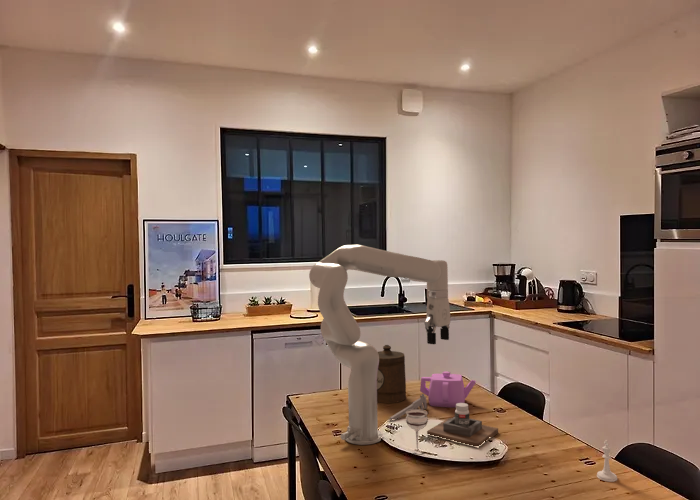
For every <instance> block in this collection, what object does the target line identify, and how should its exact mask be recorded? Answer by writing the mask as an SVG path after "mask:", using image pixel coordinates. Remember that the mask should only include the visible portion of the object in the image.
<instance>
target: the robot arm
mask: <svg viewBox="0 0 700 500" xmlns="http://www.w3.org/2000/svg"><path fill="white" fill-rule="evenodd" d="M348 270H349V271H358V272H363V273H368V274H373V275H378V276H381V277H382V276H384V277H389V278H404V279H405V278H406V279H408V280H409V281H412V282H421V283H426V299H427V301H426V319H425V321H424V322H423V323H424V326H425V327H424V328H425V330H426V331H425V332H426V344H428V345H437V333H436V329H437V328H440V329H439V330H440V331H439V332H440V333H439V335H440V339H441V340H444V341H449V340H450V324H451V309H450V308H451V307H450V301H449V279H448V277H449V274H448V272H449V271H448V262H447V261H446V260H440V259H438V260H437V259H435V260H431V259H428V258H427V259H426V258H422V257H418V256H412V255H406V254H403V253H399V252H394V251H390V250H389V251H388V250H384V249H381V248H380V249H379V248H375V247H371V246H366V245H362V244H345V245H342V246H340V247H338V248H337V249H335V250H334V251H332V252H331V253H330V254H328V255H326V256H325V257H323V258H322V259H320V260H319V261H318V262H316V263H315V264H314V265H313V266H312V267H311V269H310V271H309V281H310V284H311V285H313V286H314V287H315V288H317V289H319V290H318V296H317V306H318V310H319V313H320V314H321V316H322V317H323V319H322V321H321V324H320V332H321V336H322V338H323V340H324V342H325V343H326V345H327V346H328V348H329V350H330V352H331V353H332V354H333V356H334V357H335V359H336V360H337V361H338V363H340V364H341V365H343V366H344V367H347V368H350V372H349V377H348V381H347V394H348V395H347V397H348V399H347V401H348V402H347V403H348V426H347V427H346V428H347V429H346V431H345V432H343V433H341V434H340V439H341V440H342V441H346V442H348V443H350V444H353V445H359V446H367V445H373V444H376V443H379V442H380V441H382V440H381V437H382V436H383V433H382V431H381V430H378V429H379V428H378V425H379V423H378V422H379V421H378V402H377V371H378V365H379V355H378V352H379V351H378V350H377V349H376V348H375V347H374V345H372V344H370V343H368V342H365V341H361V340H360V338H361V328H360V325H359V324H358V322H357V320H356V318H355V317H354V316H353V314H352V312H351V311H350V309H349V307H348V305H347V304H346V301H345V297H344V293H345V289H346V287H347V283H348V279H349V277H348V272H347V271H348ZM382 438H383V437H382Z"/></svg>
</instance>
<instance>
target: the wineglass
mask: <svg viewBox="0 0 700 500" xmlns="http://www.w3.org/2000/svg"><path fill="white" fill-rule="evenodd" d="M427 415H428V411H426V409H424V410H421V409H420V408H417V409H411V410H408V411H406V414H405V423H406V425H407V426H408V427H409V428H410V429H412V430H414V431H415V439H416V440H415V441H416V443H415V444H416V448H417V450H419V449H418V448H419V432H420V431H421V430H423V429H424V428H425V427H426V426H427V424H428V422H429V419H428V416H427Z"/></svg>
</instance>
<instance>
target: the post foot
mask: <svg viewBox="0 0 700 500" xmlns="http://www.w3.org/2000/svg"><path fill="white" fill-rule="evenodd" d="M498 433H499V428H498V427H494V426H490V425H485V424H483V421H482V420H480V419H474V418H471V417H469V427H463V426H459V425H455V416H453V417H448V418H447V419H445V420H443V421H441V422H440V423H438V424H437V425H435V426H433V427H432V428H429V429H427V431H426V435H427V434H430V435H434V436H439V437H442V438H446V439H450V440H454V441H457V442H461V443H465V444H469V445H473V446H479V445H481V444H482V443H483V442H484V441H485V440H487V439H488V438H489V437H492V438H493V437H495V436H496V435H497V434H498Z"/></svg>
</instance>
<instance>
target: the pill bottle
mask: <svg viewBox="0 0 700 500" xmlns="http://www.w3.org/2000/svg"><path fill="white" fill-rule="evenodd" d="M454 417H455V425H459V426H463V427H469V418H470V411H469V404H468V403H465V402H464V403H457V404H456V407H455V411H454Z"/></svg>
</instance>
